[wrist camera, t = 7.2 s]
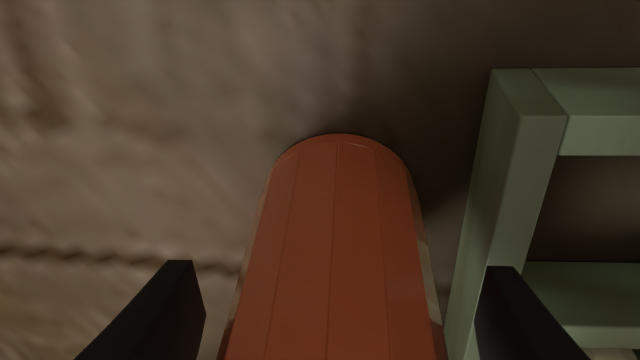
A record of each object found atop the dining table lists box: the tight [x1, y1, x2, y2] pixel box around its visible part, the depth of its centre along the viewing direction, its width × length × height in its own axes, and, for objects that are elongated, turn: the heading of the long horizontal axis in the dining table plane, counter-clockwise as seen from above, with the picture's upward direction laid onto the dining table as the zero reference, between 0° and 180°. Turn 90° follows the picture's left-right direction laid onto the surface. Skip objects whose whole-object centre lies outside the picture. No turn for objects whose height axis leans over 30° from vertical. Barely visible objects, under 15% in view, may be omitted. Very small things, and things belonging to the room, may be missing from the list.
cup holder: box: [443, 67, 640, 360], centre depth 15 cm, size 8×15×3 cm, turn 2°
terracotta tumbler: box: [216, 133, 449, 360], centre depth 11 cm, size 5×5×9 cm
